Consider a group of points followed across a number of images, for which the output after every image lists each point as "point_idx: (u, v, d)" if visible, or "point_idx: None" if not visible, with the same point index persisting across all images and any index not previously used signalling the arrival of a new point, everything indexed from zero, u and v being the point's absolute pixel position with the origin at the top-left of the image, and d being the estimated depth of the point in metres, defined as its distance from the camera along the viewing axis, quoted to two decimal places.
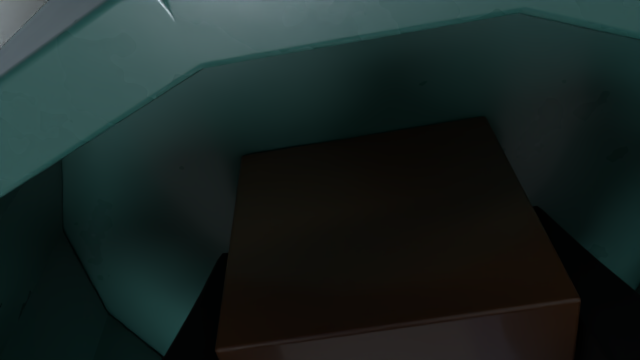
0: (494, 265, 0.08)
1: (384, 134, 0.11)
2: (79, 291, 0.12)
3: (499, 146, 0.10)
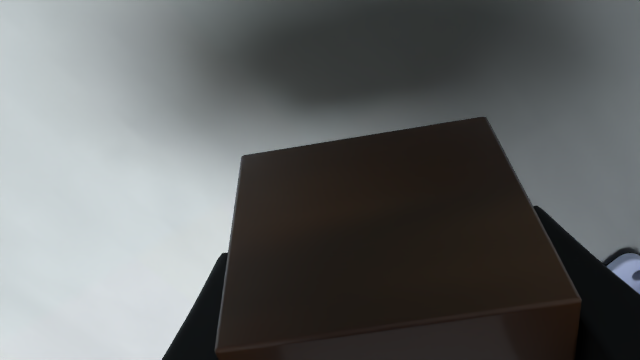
0: (494, 266, 0.08)
1: (384, 134, 0.11)
2: None
3: (499, 146, 0.10)
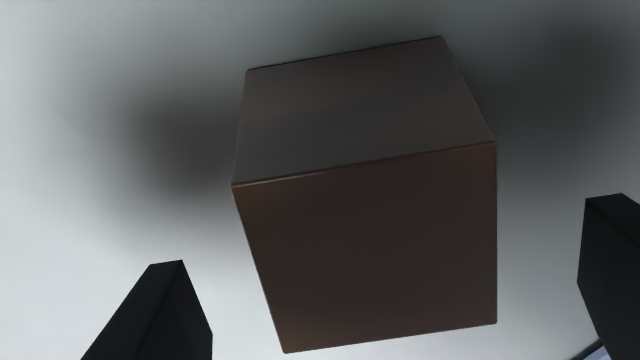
0: (437, 126, 0.10)
1: (361, 51, 0.13)
2: None
3: (450, 55, 0.12)
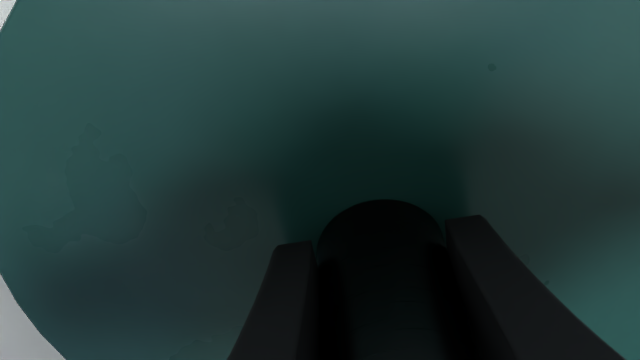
0: None
1: None
2: None
3: None
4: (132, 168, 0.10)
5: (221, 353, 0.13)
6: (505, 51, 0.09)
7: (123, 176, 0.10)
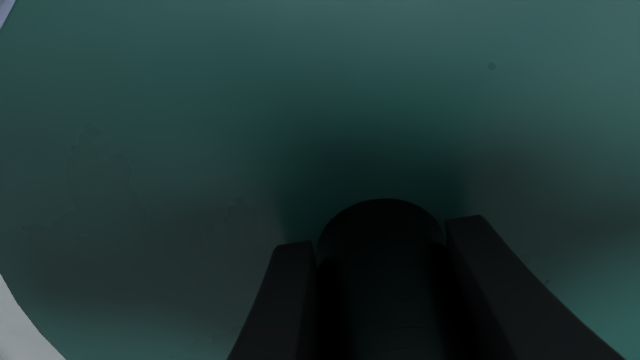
0: None
1: None
2: None
3: None
4: (132, 168, 0.10)
5: (221, 353, 0.13)
6: (505, 50, 0.09)
7: (123, 176, 0.10)
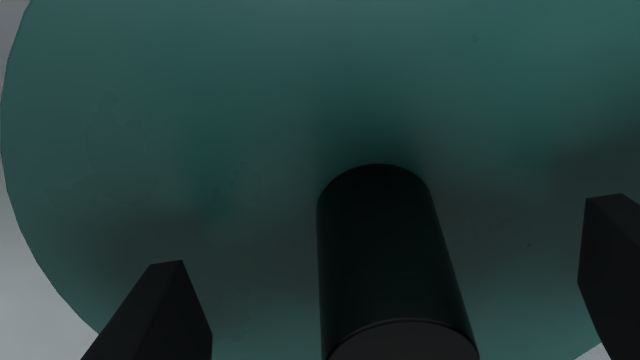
0: None
1: None
2: None
3: None
4: (146, 133, 0.11)
5: (226, 313, 0.14)
6: (487, 23, 0.10)
7: (138, 141, 0.11)
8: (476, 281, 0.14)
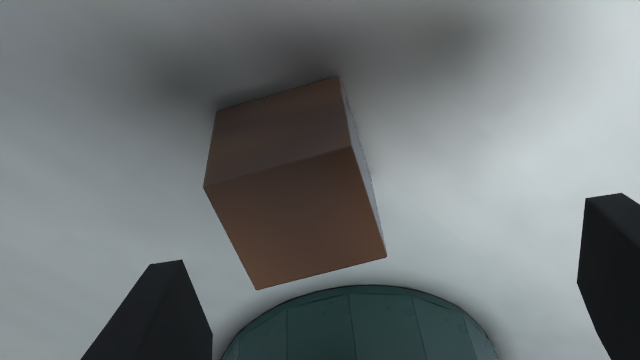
0: None
1: None
2: None
3: None
4: None
5: None
6: None
7: None
8: None
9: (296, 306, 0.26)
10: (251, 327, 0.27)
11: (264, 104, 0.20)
